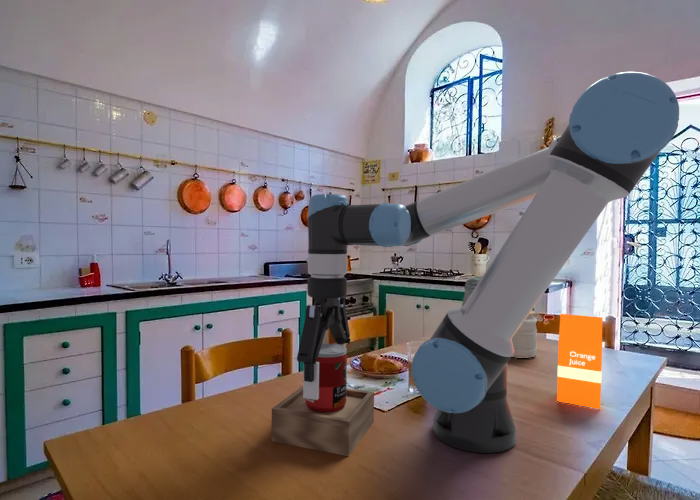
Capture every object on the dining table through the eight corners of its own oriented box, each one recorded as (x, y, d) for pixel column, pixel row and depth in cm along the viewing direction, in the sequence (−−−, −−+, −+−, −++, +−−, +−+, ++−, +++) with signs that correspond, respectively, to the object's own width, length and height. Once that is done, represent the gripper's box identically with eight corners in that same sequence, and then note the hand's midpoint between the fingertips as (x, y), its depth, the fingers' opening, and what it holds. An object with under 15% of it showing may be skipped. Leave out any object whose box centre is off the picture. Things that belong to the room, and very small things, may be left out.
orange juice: (559, 392, 106) (561, 311, 105) (600, 399, 101) (603, 315, 101) (556, 402, 99) (558, 316, 98) (600, 410, 94) (603, 320, 94)
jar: (490, 348, 147) (491, 297, 147) (530, 349, 146) (531, 298, 145) (498, 358, 135) (499, 302, 134) (541, 360, 133) (543, 304, 132)
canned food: (341, 415, 78) (342, 355, 78) (299, 411, 79) (300, 352, 79) (350, 399, 85) (350, 344, 85) (311, 396, 87) (312, 342, 87)
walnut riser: (373, 421, 87) (374, 392, 87) (348, 456, 73) (349, 421, 73) (306, 410, 92) (307, 382, 92) (271, 441, 78) (271, 408, 78)
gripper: (333, 270, 95) (332, 365, 95) (277, 280, 71) (276, 406, 72) (365, 272, 92) (364, 369, 93) (318, 283, 69) (317, 413, 69)
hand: (325, 386), depth 82 cm, fingers open, 13 cm apart
